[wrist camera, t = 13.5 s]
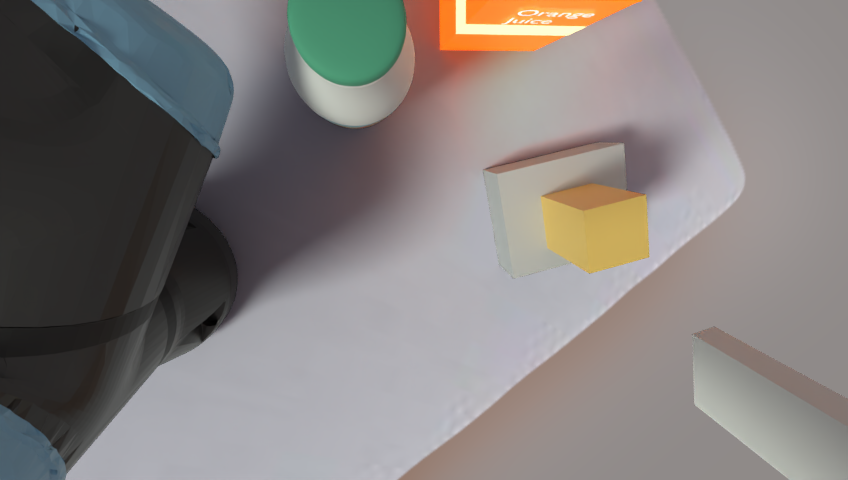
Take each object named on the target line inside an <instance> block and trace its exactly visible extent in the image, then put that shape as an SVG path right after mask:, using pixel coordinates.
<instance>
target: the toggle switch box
mask: <svg viewBox="0 0 848 480" xmlns="http://www.w3.org/2000/svg"><path fill="white" fill-rule="evenodd" d="M483 174H484V179H485V185H486V191H487V197H488V203H489V209H490V215H491V221H492V226H493V232H494V238H495V244H496V250H497V256H498V262H499V266H500V267H502V268H503V269H504V270H505V271H506V272H507V273H508V274H509V275H510V276H511V277H512V278H513V279H515V278H519V277H522V276H526V275H530V274H533V273H537V272H541V271H544V270H548V269H552V268H555V267H559V266H563V265H566V264H570V263H571V262H570V261H568V260H566V259H565V258H563V257H561V256H560V255H558V254H556V253H555V252H553V251H551V250H550V249H548V248H547V242H546V234H545V226H544V218H543V211H542V203H541V196H543V195H547V194H551V193H555V192H559V191H563V190H567V189H571V188H575V187H579V186H583V185H587V184H591V183H594V184H599V185H603V186H608V187H613V188H617V189H622V190H627V182H626V166H625V151H624V143H607V142H597V143H592V144H588V145H584V146H580V147H576V148H572V149H568V150H564V151H559V152H555V153H551V154H547V155H543V156H539V157H535V158H531V159H526V160H522V161H518V162H514V163H510V164H506V165H502V166H498V167H493V168H489V169H485V170H483Z"/></svg>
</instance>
